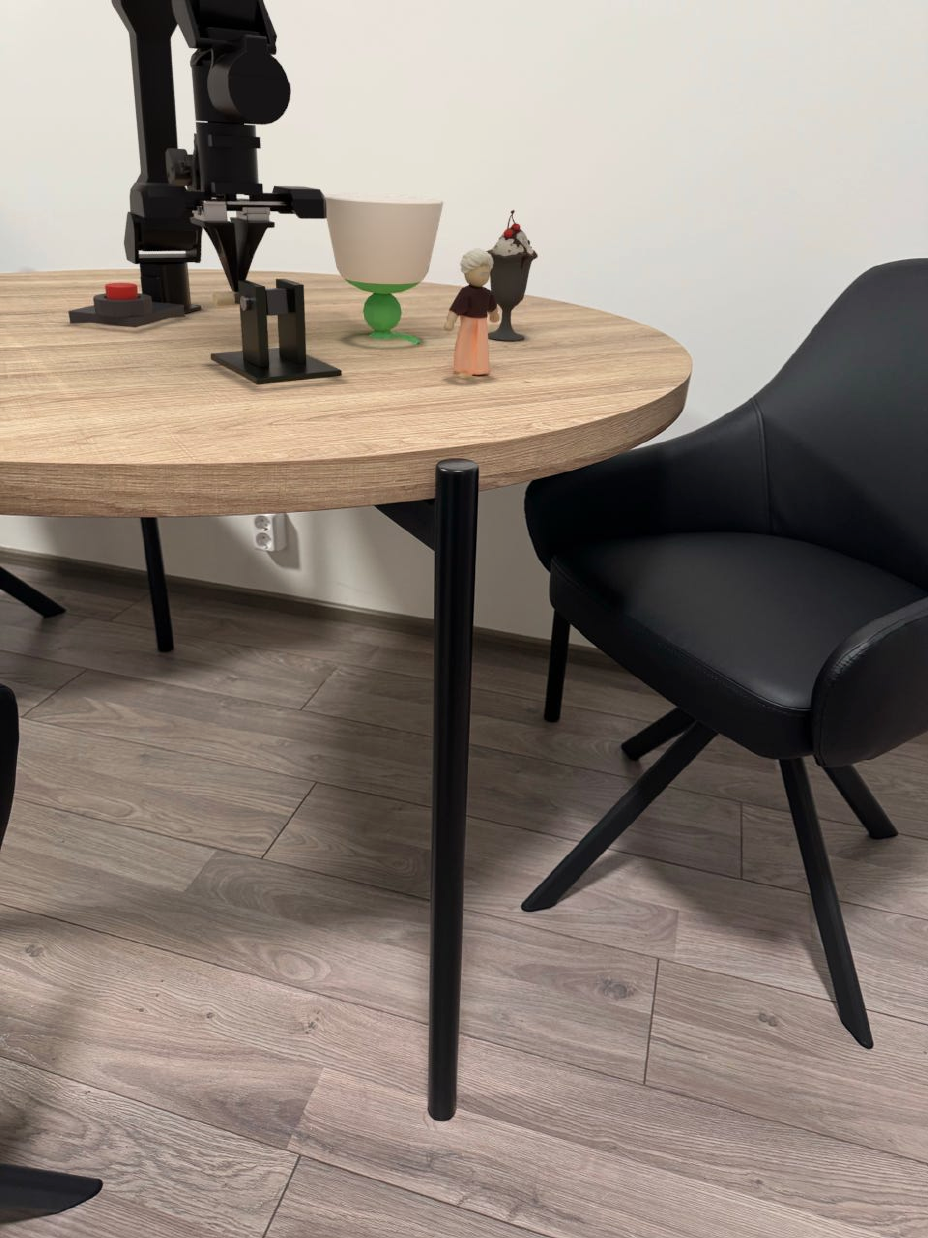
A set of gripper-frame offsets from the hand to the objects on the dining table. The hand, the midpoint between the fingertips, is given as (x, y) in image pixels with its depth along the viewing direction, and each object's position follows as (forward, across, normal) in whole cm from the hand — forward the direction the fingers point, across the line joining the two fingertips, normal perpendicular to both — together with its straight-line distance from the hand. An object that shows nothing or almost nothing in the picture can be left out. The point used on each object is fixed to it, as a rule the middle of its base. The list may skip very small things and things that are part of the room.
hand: (236, 291), depth 96 cm
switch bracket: (+7, -1, +9) cm, 11 cm away
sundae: (+7, -35, 0) cm, 35 cm away
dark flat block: (+7, +6, -23) cm, 25 cm away
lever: (+1, 0, +5) cm, 5 cm away
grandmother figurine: (+7, -19, +18) cm, 27 cm away
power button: (+4, +8, -20) cm, 22 cm away
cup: (+7, -18, -3) cm, 20 cm away
